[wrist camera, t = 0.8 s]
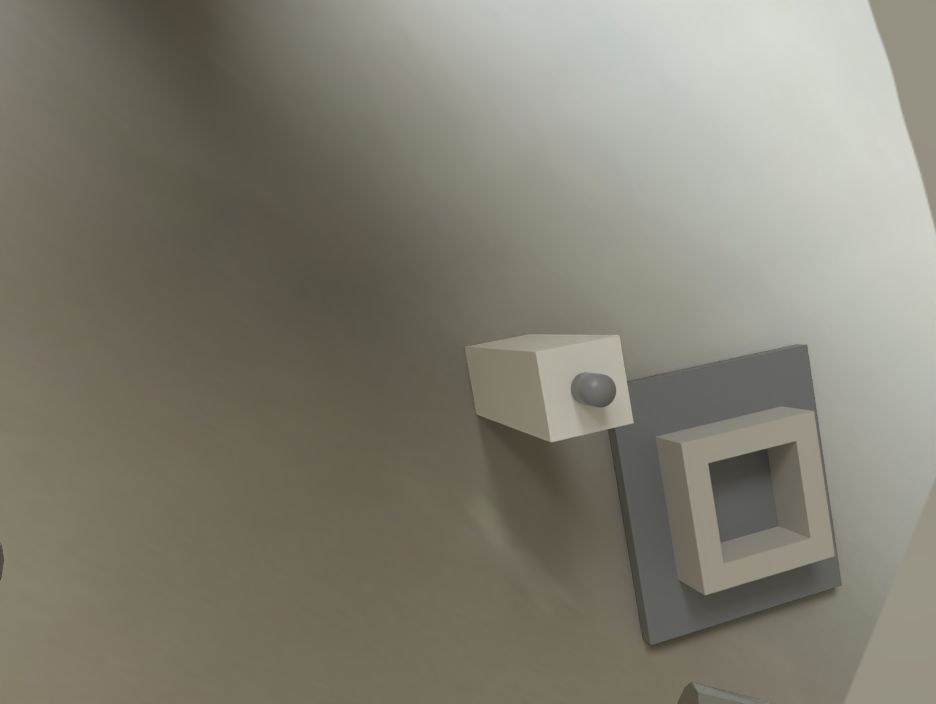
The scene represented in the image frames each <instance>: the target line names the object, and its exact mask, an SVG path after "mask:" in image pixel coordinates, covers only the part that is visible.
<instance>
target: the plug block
mask: <svg viewBox="0 0 936 704" xmlns="http://www.w3.org/2000/svg"><path fill="white" fill-rule="evenodd" d="M465 353H466V359H467V364H468V370H469V376H470V381H471V387H472V392H473V398H474V404H475V409H476V414H477V415H479V416H482V417H485V418H487V419H490V420H493V421H495V422H498V423H501V424H503V425H506V426H509V427H511V428H514V429H517V430H519V431H522V432H525V433H527V434H530V435H533V436H535V437H538V438H541V439H543V440H546V441H549V442H555V441H559V440H564V439H568V438H572V437H577V436H581V435H585V434H589V433H594V432H598V431H602V430H606V429H611V428H615V427H619V426H624V425H628V424H632V423H634V422H633V416H632V410H631V404H630V398H629V391H628V385H627V379H626V373H625V367H624V361H623V355H622V348H621V342H620V336H619V335H558V334H527V335H522V336H517V337H512V338H507V339H502V340H496V341H491V342H486V343H481V344H476V345H471V346H466V347H465Z"/></svg>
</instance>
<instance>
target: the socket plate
mask: <svg viewBox="0 0 936 704" xmlns="http://www.w3.org/2000/svg"><path fill="white" fill-rule="evenodd" d="M627 385H628V391H629V398H630V404H631V410H632V416H633V422H634V423H632V424H628V425H624V426H619V427H615V428H611V429H608V430H609V436H610V442H611V448H612V454H613V460H614V466H615V472H616V478H617V485H618V491H619V497H620V503H621V509H622V515H623V521H624V527H625V533H626V539H627V545H628V551H629V557H630V563H631V570H632V576H633V582H634V588H635V594H636V600H637V606H638V612H639V618H640V624H641V630H642V636H643V640H645V641H646V642H647V643H648V644H650V645H654V644H657V643H660V642H663V641H666V640H669V639H673V638H676V637H679V636H682V635H685V634H689V633H692V632H695V631H698V630H701V629H704V628H708V627H711V626H714V625H717V624H720V623H724V622H727V621H730V620H733V619H736V618H739V617H743V616H746V615H749V614H752V613H755V612H759V611H762V610H765V609H768V608H771V607H774V606H778V605H781V604H784V603H787V602H790V601H794V600H797V599H800V598H803V597H806V596H809V595H813V594H816V593H819V592H822V591H825V590H829V589H832V588H835V587H838V586H841V585H842V584H841V577H840V570H839V563H838V556H837V549H836V542H835V535H834V528H833V521H832V514H831V507H830V501H829V494H828V487H827V480H826V473H825V466H824V459H823V452H822V445H821V438H820V431H819V424H818V417H817V411H816V404H815V397H814V390H813V383H812V376H811V369H810V362H809V355H808V348H807V345H792V346H788V347H783V348H778V349H774V350H769V351H765V352H760V353H755V354H751V355H746V356H742V357H737V358H733V359H728V360H723V361H719V362H714V363H710V364H705V365H701V366H696V367H691V368H687V369H682V370H678V371H673V372H668V373H664V374H659V375H655V376H650V377H646V378H641V379H636V380H632V381H627Z"/></svg>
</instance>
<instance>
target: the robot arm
mask: <svg viewBox="0 0 936 704" xmlns="http://www.w3.org/2000/svg"><path fill="white" fill-rule="evenodd" d="M3 564H4V556H3V550H2V545H1V543H0V580H1V577H2V570H3ZM677 704H776V703H772V702H768V701H764V700H760V699H756V698H752V697H748V696H745V695H741V694H737V693H733V692H729V691H725V690H721V689H717V688H713V687H710V686H706V685H702V684H698V683H694V682H691V683H690V684H688V685H687V686H686V687H685V688H684V690H683V692H682V694H681V696H680V698H679V700H678V702H677Z"/></svg>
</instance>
